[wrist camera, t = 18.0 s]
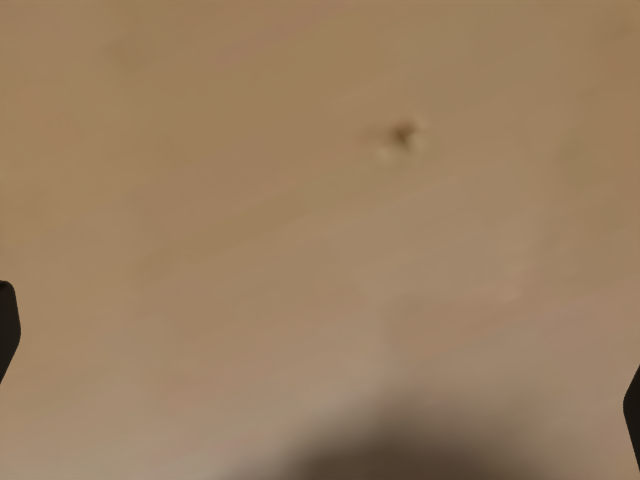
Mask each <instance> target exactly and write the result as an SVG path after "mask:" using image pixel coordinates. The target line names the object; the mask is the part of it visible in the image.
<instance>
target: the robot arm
mask: <svg viewBox="0 0 640 480" xmlns="http://www.w3.org/2000/svg"><path fill="white" fill-rule="evenodd" d="M20 336H21V326H20V320H19V313H18V307H17V301H16V295H15V290H14V288H13V286H12V284H11V283H9V282H8V281H1V280H0V384H1V382H2V379H3V377H4V375H5V373H6V371H7V369H8V366H9V364H10V362H11V360H12V358H13V356H14V354H15V351H16V349H17V347H18V344H19V341H20ZM623 412H624V417H625V420H626V424H627V427H628V431H629V435H630V438H631V442H632V445H633V449H634V453H635V456H636V460H637V464H638V467H639V471H640V365H639V367H638V369H637V371H636V373H635V375H634V378H633V380H632V382H631V384H630V386H629V388H628V390H627V392H626V394H625V397H624V401H623Z"/></svg>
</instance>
